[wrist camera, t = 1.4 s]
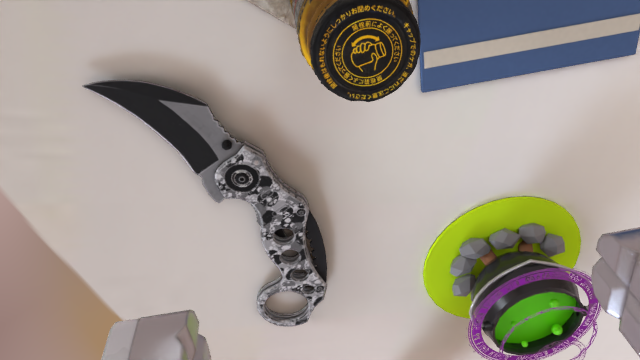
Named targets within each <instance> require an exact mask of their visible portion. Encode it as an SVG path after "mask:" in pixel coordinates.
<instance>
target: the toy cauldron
mask: <svg viewBox="0 0 640 360" xmlns="http://www.w3.org/2000/svg"><path fill="white" fill-rule="evenodd" d="M580 245H581V238H580V232H579V228H578V226H577V224H576V222H575V220H574V218H573V217H572V216H571V215H570V214H569V213H568V212H567V211H566V209H564V208H563V207H561V206H559V205H558V204H556V203H554V202H552V201H548V200H545V199H542V198H535V197H526V196H525V197H510V198H505V199H501V200H496V201H492V202H490V203H487V204H484V205H482V206H479V207H477V208H475V209H473V210H471V211H469V212H468V213H466V214H464V215H462V216H461V217H459V218H458V219H457V220H456V221H454V222H453V223H452V224H450V225H449V226H448V227H447V228H446V229H445V230H444V231H443V232H442V233H441V234H440V236H439V237H438V238H437V239H436V241H435V242H434V244H433V245H432V247H431V248H430V250H429V252H428V255H427V258H426V260H425V264H424V271H423V277H424V285H425V287H426V289H427V292H428V294H429V296H430V297H431V298H432V300H433V301H434V302H435V303H436V305H438V306H439V307H441V308H442V309H443V310H445V311H446V312H449V313H451V314H453V315H456V316H460V317H464V318H469V319H471V320H472V321H471V320H470V321H471V323H469V325H470V324H471V326H472V322H473V327H472V329H473V330H472V336H473V335H474V336H473V340H474V339H475V338H477V337H478V336H480V337H478V338H480V339H477V340H474V342H475V344H477V343H478V345H476V346H477V347H479V346H480V348H478V349H479V350H480V349H481V348H482V350H481V351H482V352H483V353H484V354H486V355H488V354H489V355H488V356H489V357H492V358H495V359H498V360H505V359H507V360H516V359H517V358H518V357H519V358H518V359H519V360H521V359H522V358H523V357H524V356H525V358H526V356H528V357H529V358H528V357H527V358H526V359H527V360H531V359H535V360H537V359H536V358H538V359H539V360H541V359H540V357H542V358H543V356H545V357H546V358H547V356H546V355H545V354H546V353H548V354H550V355H551V356H552V354H551V353H553V349H554V348H556V349H557V346H558V348H560V349H561V348H563V347H565V346H566V345H568V344H569V345H570V346H571V344H572V343H573V342H572V341H576V340H577V341H578V340H579V339H578V338H577V339H576V338H574V337H572V335H573V336H576V337H579V336H580V335H581V334H582V333H583V332H584V331H585V330H586V328H587V327H588V326H589V325H590V323H591V322H592V323H593V327H594V330H595V332H596V333H597V331H596V329H595V325H597V324H594V323H597V322H595V321H596V320H595V319H597V318H598V316H597V314H598V313H600V312H598V311H600V310H601V308H600V306H601V305H600V304H599V308H600V310H599V308H598V311H597V307H598V300H597V298H596V296H595V294H594V291H593V286H592V284H591V283H590V281H591V279H590V278H591V277H590V278H588V277H589V276H588V275H586V274H585V275H582V274H580V273H582V272H580V273H579V271H576V270H573V267H574V266H575V264H576V261H577V258H578V255H579V253H580ZM574 269H575V268H574ZM570 272H572V273H570ZM583 272H584V271H583ZM585 273H586V272H585ZM573 274H575V275H573ZM583 274H584V273H583ZM569 275H570V276H572V275H573V276H572V277H573V278H572V277H570V276H569ZM576 276H578V278H577V277H576ZM587 276H588V277H587ZM571 278H572V279H571ZM574 278H575V281H576V280H577V279H578V280H579V281H578V280H577V281H578V282H577V281H576V282H575V281H574V280H573V279H574ZM576 278H577V279H576ZM581 279H582V280H581ZM588 279H589V280H590V281H589V280H588ZM584 282H585V283H586V284H587V285H588V286H589V287H588V286H587V285H586V284H585V283H584ZM591 282H592V281H591ZM581 283H582V284H583V283H584V284H585V286H584V284H583V286H582V285H580V284H581ZM576 284H577V285H579V286H580V287H581V288H582V289H583V290H584V291H585V292H586V294H587V296H588V300H589V305H588V306H583V304H582V303H581V302H580V299H579V294H578V288H577V286H576ZM586 286H587V288H589V289H587V288H586ZM585 288H586V289H585ZM587 290H588V291H587ZM590 291H591V293H590V294H589V292H590ZM591 294H592V295H591ZM589 295H591V296H592V297H591V296H590V297H591V299H590V297H589ZM594 304H596V306H595V305H594ZM592 307H596V308H593V309H595V310H596V311H597V314H596V311H595V310H593V311H595V312H593V311H592V310H590V309H591V308H592ZM602 309H603V308H602ZM601 312H602V311H601ZM589 313H590V314H591V313H593V314H591V315H589ZM594 313H595V314H596V316H597V318H596V316H595V314H594ZM598 315H599V314H598ZM583 316H586V318H585V320H584V321H583V323H582V324H581V321H582V318H583ZM592 316H593V317H592ZM594 316H595V318H594ZM587 318H588V319H589V318H590V319H591V318H592V319H591V320H588V321H587V320H586V319H587ZM593 318H594V320H595V321H594V320H593ZM477 320H478V321H477ZM592 320H593V321H592ZM585 321H586V322H585ZM589 321H590V322H589ZM585 323H587V324H588V323H589V324H588V325H587V326H583V325H586V324H585ZM592 323H591V325H592ZM474 324H475V326H474ZM580 324H581V326H580ZM476 325H477V326H476ZM591 325H590V326H591ZM471 326H470V329H469V327H468V337H469V333H470V339H471V341H472V337H471ZM579 326H580V327H579ZM590 326H589V327H590ZM474 327H475V328H474ZM476 327H477V329H476ZM478 327H479V328H478ZM578 327H579V328H578ZM589 327H588V328H589ZM591 327H592V326H591ZM591 327H590V328H591ZM481 328H482V329H483V331H484V333H485V334H486V335H487V336H489V337H490V338H491V339H492V341H493V342H494V343H495V344H496V346H497V347H498V348H500V350H502V353H501V352H500V351H499V353H498V352H496V351H494V350H492V349H491V348H490V347H488V346H487V345H486V343H485V342H484V340H483V338H482V335H481ZM577 328H578V329H577ZM590 328H589V329H590ZM579 329H580V331H579ZM582 329H583V330H582ZM469 330H470V332H469ZM587 330H588V329H587ZM587 330H586V331H587ZM594 330H593V333H594ZM581 331H582V332H581ZM586 331H585V332H584V333H585V334H586V333H587V332H586ZM476 333H480V335H478V334H477V335H478V336H475V335H476ZM579 333H581V334H579ZM584 333H583V334H584ZM596 333H595V334H596ZM577 334H579V335H577ZM583 334H582V335H583ZM585 334H584V335H585ZM595 334H594V335H595ZM582 335H581V336H582ZM584 335H583V336H584ZM594 335H592V336H593V337H594ZM581 336H580V337H581ZM595 336H596V335H595ZM580 337H579V338H580ZM593 337H591V340H592V338H593ZM470 339H469V341H470ZM575 339H576V340H575ZM594 339H595V338H594ZM467 340H468V339H467ZM567 340H568V341H569V342H567ZM591 340H590V344H589V346H590V345H591V344H592V343H591ZM482 341H483V343H482ZM593 341H594V340H593ZM593 341H592V342H593ZM480 342H481V343H480ZM564 342H567V343H568V344H566V343H564ZM571 342H572V343H571ZM578 342H579V341H578ZM578 342H576V343H575V342H574V343H573V344H574V345H575V344H578ZM470 343H472V344H473V345H474V343H473V341H472V342H470ZM479 343H480V345H479ZM580 343H581V342H580ZM472 344H471V345H472ZM482 344H483V345H482ZM561 344H562V345H563V344H564V345H565V346H564V345H563V346H562V345H561ZM481 345H482V347H481ZM484 345H485V346H486V348H485V346H484ZM559 345H560V347H559ZM569 345H568V346H569ZM578 345H579V344H578ZM587 345H588V344H587ZM576 346H577V345H576ZM589 346H588V347H587V349H588V348H589ZM472 347H473V346H472ZM474 347H475V345H474ZM474 347H473V348H474ZM483 347H484V349H483ZM566 347H567V346H566ZM566 347H565V349H566ZM578 347H579V346H578ZM580 347H581V345H580ZM580 347H579V348H580ZM584 347H585V346H584ZM475 348H476V347H475ZM487 348H489V349H488V350H487ZM552 348H553V349H552ZM567 348H568V347H567ZM478 349H477V348H476V349H474V350H475V351H476V350H477V351H478V352H477V351H476V352H477V353H478V354H479V352H480V351H479V350H478ZM556 349H554V352H555V350H556ZM563 349H564V348H563ZM587 349H586V348H583V350H582V351H584V350H585V351H584V352H585V354H586V350H587ZM483 350H484V351H483ZM485 350H486V351H487V352H486V351H485ZM557 350H559V349H557ZM557 350H556V351H557ZM561 350H562V349H561ZM580 350H581V349H580ZM492 351H493V354H492ZM503 351H505V352H506V353H511V354H516V355H520V356H514V355H507V356H508V357H507V356H505V354H503ZM545 351H547V352H546V353H545ZM559 351H560V350H559ZM562 351H563V350H562ZM582 351H581V352H580V354H581V353H582ZM494 352H495V353H494ZM541 352H542V353H541ZM543 352H544V353H545V354H544V353H543ZM557 352H558V351H557ZM557 352H555V353H557ZM560 352H561V351H560ZM584 352H583V353H584ZM480 353H481V352H480ZM490 353H491V354H492V355H491V354H490ZM539 353H541V354H539ZM558 353H559V352H558ZM583 353H582V354H583ZM481 354H482V353H481ZM481 354H480V355H481ZM484 354H482V355H483V356H482V355H481V356H482V357H484V356H485V355H484ZM496 354H497V355H496ZM534 354H535V355H536V354H537V355H536V356H535V355H534ZM542 354H543V355H542ZM548 354H547V355H548ZM580 354H579V356H581V355H580ZM490 355H491V356H490ZM495 355H496V356H497V357H496V356H495ZM498 355H499V356H500V355H501V356H500V357H499V356H498ZM531 355H532V356H533V357H532V356H531ZM539 355H540V356H539ZM541 355H542V356H541ZM553 355H554V353H553ZM494 356H495V357H494ZM510 356H511V357H510ZM521 356H522V358H521ZM534 356H535V357H536V358H535V357H534ZM537 356H538V357H537ZM576 356H577V355H576ZM579 356H578V357H579ZM583 356H584V355H583ZM482 357H481V358H482ZM489 357H488V358H489ZM505 357H506V358H505ZM548 357H549V355H548ZM578 357H575V358H573V359H574V360H575V359H576V358H578ZM581 357H582V356H581ZM584 357H585V356H584ZM484 358H485V357H484ZM492 358H489V359H488V360H490V359H492ZM499 358H500V359H499ZM501 358H502V359H501ZM520 358H521V359H520ZM525 358H524V359H523V360H526V359H525ZM579 358H580V357H579ZM486 359H487V356H486ZM495 359H492V360H495ZM518 359H517V360H518ZM543 359H544V358H543ZM583 359H584V358H583ZM583 359H582V360H583ZM571 360H572V359H571ZM578 360H579V359H578Z"/></svg>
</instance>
